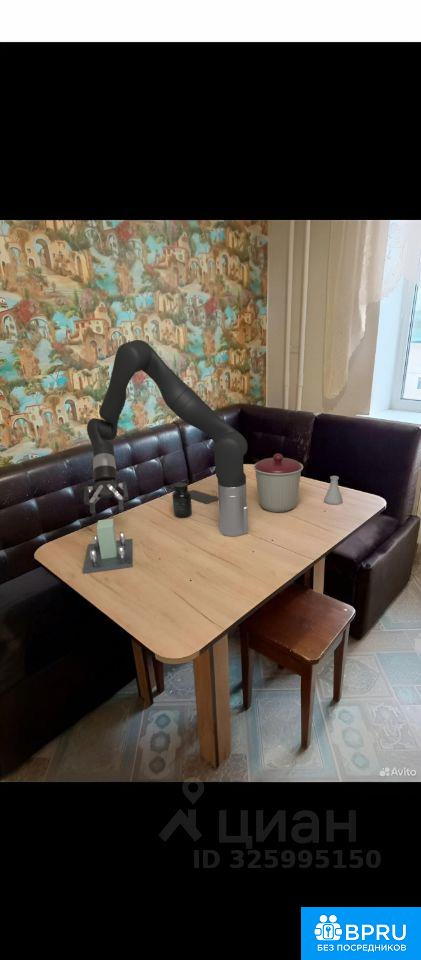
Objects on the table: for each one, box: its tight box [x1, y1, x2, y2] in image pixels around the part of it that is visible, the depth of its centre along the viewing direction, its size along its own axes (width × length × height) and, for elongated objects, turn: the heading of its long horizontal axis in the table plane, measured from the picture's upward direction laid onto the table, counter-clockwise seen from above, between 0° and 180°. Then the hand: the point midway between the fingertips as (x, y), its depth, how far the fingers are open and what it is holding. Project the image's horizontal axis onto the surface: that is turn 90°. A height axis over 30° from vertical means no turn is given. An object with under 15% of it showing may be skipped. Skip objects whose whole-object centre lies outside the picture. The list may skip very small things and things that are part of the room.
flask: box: [323, 475, 343, 505], centre depth 156 cm, size 7×7×10 cm
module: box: [96, 518, 117, 559], centre depth 123 cm, size 4×6×10 cm
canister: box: [252, 453, 304, 513], centre depth 151 cm, size 18×18×21 cm
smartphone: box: [189, 489, 219, 505], centre depth 168 cm, size 7×1×16 cm
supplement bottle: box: [171, 482, 193, 519], centre depth 150 cm, size 7×7×12 cm
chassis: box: [82, 531, 134, 575], centre depth 124 cm, size 14×16×5 cm
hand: (107, 513), depth 132 cm, fingers open, 8 cm apart
